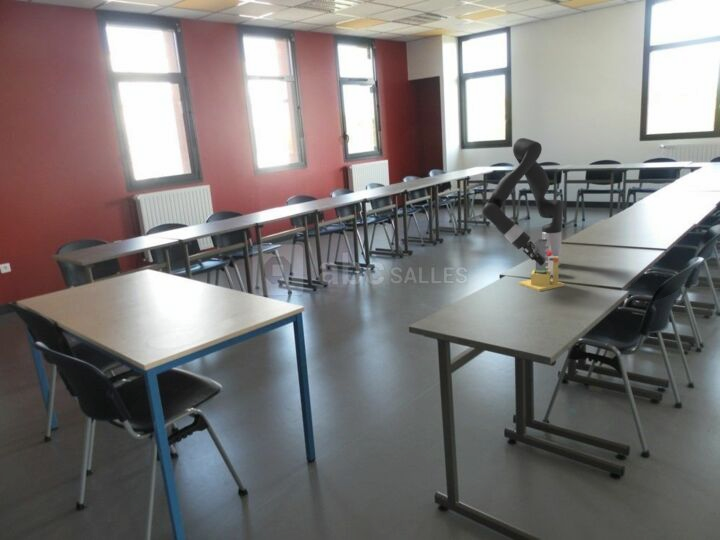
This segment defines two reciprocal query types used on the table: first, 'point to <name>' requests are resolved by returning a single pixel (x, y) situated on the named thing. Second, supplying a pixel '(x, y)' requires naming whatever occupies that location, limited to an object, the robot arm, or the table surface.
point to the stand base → (544, 278)
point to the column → (541, 255)
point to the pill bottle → (550, 263)
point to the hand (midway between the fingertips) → (543, 261)
